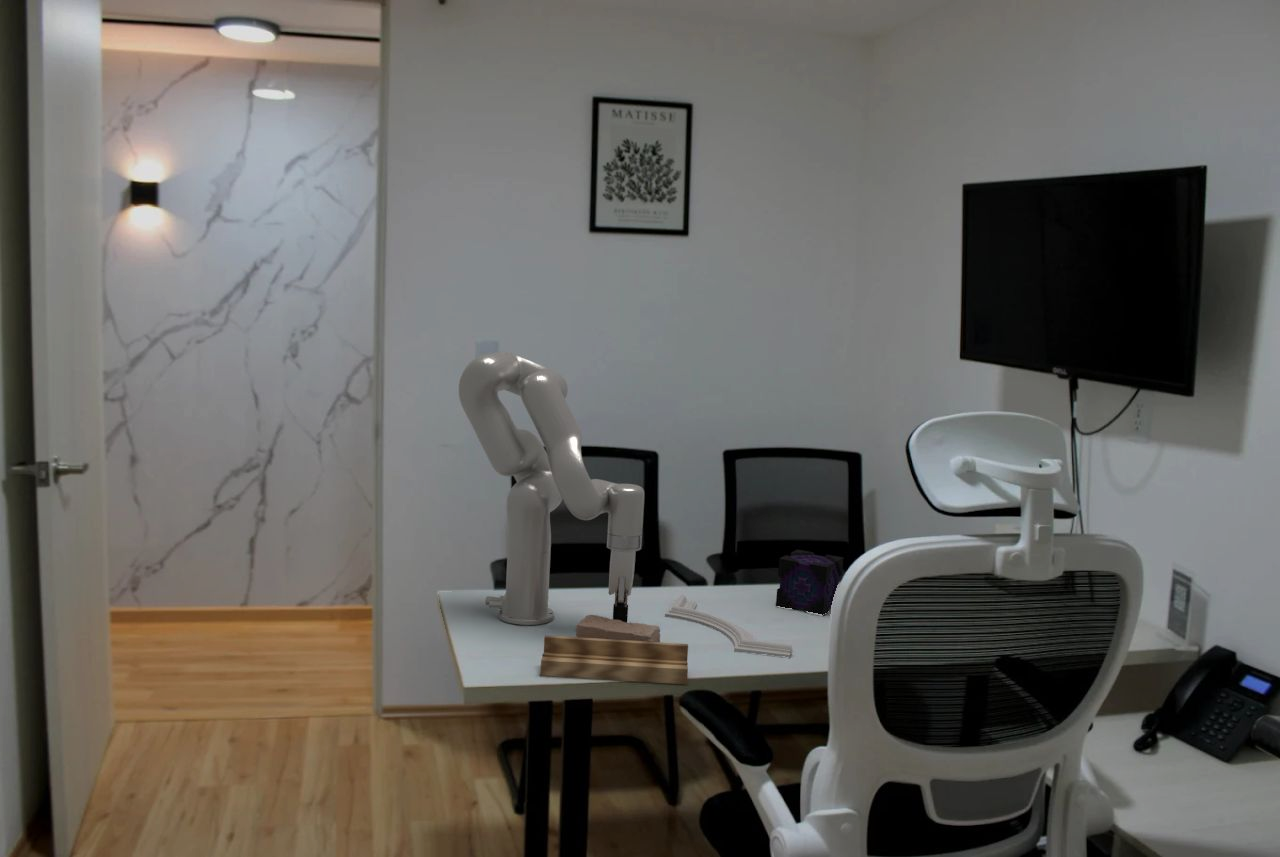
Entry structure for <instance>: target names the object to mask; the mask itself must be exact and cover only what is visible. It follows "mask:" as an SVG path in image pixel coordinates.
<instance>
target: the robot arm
mask: <svg viewBox="0 0 1280 857" xmlns="http://www.w3.org/2000/svg"><path fill="white" fill-rule="evenodd" d="M501 391H505V392H508V393H512V394H514V395H515V396H516V395H517V396H519V397H520V398H521V401H522V404H523V406H524V408H525V409H526V412H527V413H528V415H529V417H530V420H531V421H532V423H533V425H534V427H535V429H536V431H537V433H538V435H539V437H540V439H541V441H540V440H539V438H538V437H537V436H536V435H535V434H534V433H533V432H531V431H529V430H527V429H521V428H519V429H518V427H517V426H516V425H515V422H514V420H513V418H512V416H511V414H510V412H509V410H508V409H507V408H506V406H505V405H504V403H503V402H502V401H501V399H500V397H499V392H501ZM458 396H459V397H458V398H459V402H460V404H461V407H462V409H463V412H464V413H465V415H466V417H467V419H468V421H469V423H470V424H471V426H472V429H473V430H474V433H475V435H476V438H477V439H478V441H479V443H480V445H481V447H482V449H483V451H484V453H485V455H486V457H487V459H488V461H489V463H490V465H491V467H492V468H493V470H494V471H495V472H496V473H498V474H499V475H500V476H503V477H513V478H514V480H515V481H516V482H515V484H514V485H512V487H511V488H510V490H509V492H508V495H507V499H506V506H505V507H506V517H507V518H506V520H507V554H506V555H507V558H506V580H505V593H504V595H500V596H498V597H496V596H491V595H490V596H489V595H486V596H485V605H486V606H488V607H489V608H499V609H498V610H497V617H498V618H499V620H501V621H503V622H504V623H508V624H513V625H521V626H522V625H523V626H532V625H533V626H536V625H544V624H547V623H550V622H551V621H553V620H554V619H555V611H554V610H553V608H550V607H549V592H550V591H549V590H550V571H551V570H550V568H551V553H552V552H551V551H552V550H551V547H552V531H551V529H552V528H551V516H550V515H551V514H550V513H551V512H553V511H555V509H557V508H558V507H559V506H560V504H561V503H562V500H563V502H564V504H565V506H566V508H567V510H568V511H569V512H570V513H571V514H572V516H574V517H575V518H577V519H578V520H582V521H590V520H593V519H596V517H598V516H600V515H601V514H604V513H607V514H608V516H607V517H608V518H607V519H608V521H607V538H606V548H607V549H609V550H610V559H609V560H610V561H609V575H608V576H609V578H608V595H609V596H612V595H614V603H613V606H612V620H621V621H622V622H626V623H628V615H629V614H628V613H629V604H628V597H629V596H631V594H632V588H633V583H634V575H635V565H636V564H635V563H636V552H640V550H642V545H643V544H642V542H643V524H644V511H645V510H644V508H645V489H644V488H643V487H642V486H640V485H638V484H632V483H615V482H612V481H608V480H605V479H599V478H591V477H590V476H589V473H588V471H587V469H586V466H585V464H584V459H583V455H582V440H583V438H582V437H583V436H582V431H581V429H580V426H579V424H578V423H577V420H576V419H575V417H574V415H573V413H572V410H571V408H570V407H569V404H568V403H567V400H566V397H567V396H568V384H567V381H566V379H565V377H564V376H563V375H562V374H561V373H560V372H558V371H556V370H555V369H552V368H549V367H547V366H544V365H542V364H539V363H538V362H537V363H536V362H535V361H531V360H529V359H526V358H524V357H522V356H519V355H516V354H514V353H512V352H506V351H499V352H498V351H497V352H490V353H485V354H481V355H479V356H477V357H475V358H474V359H473V360H471V361H470V362H469V363H468V365H466V367H465V368H464V370H463V372H462V373H461V376H460V378H459V382H458Z"/></svg>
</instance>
